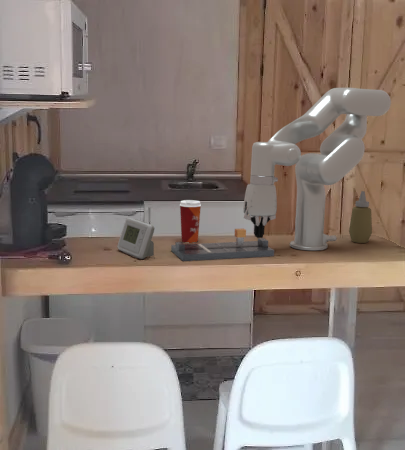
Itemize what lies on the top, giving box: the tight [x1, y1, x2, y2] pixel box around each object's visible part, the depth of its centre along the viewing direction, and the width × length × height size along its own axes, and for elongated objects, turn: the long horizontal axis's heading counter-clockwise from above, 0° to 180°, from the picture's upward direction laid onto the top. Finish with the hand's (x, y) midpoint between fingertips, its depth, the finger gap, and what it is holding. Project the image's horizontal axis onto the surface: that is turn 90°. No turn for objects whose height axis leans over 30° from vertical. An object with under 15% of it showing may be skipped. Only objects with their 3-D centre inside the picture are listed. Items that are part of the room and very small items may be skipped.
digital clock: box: [116, 217, 155, 260], centre depth 208 cm, size 16×9×11 cm, turn 23°
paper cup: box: [179, 199, 202, 244], centre depth 228 cm, size 8×8×14 cm
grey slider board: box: [170, 237, 275, 262], centre depth 211 cm, size 30×14×4 cm, turn 107°
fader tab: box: [234, 228, 247, 246], centre depth 213 cm, size 3×2×5 cm
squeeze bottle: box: [348, 190, 373, 244], centre depth 233 cm, size 8×8×18 cm
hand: (258, 237), depth 214 cm, fingers closed
